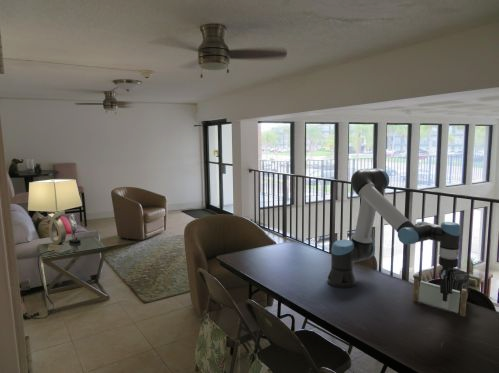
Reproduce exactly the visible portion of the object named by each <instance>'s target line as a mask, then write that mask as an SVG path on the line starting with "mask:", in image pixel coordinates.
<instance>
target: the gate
mask: <svg viewBox="0 0 499 373" xmlns="http://www.w3.org/2000/svg"><path fill="white" fill-rule="evenodd" d="M451 292H453V293H452V294H450V293H449V294H450V302H449V308H448V309H447V308H444V307H442V293H440V284H434V283H431V282H428V281H424V280H421V281H420V280H419V293H418V302H422V303H425V304H428V305H431V306H435V307H437V308H441V309H444V310H447V311H449V312H450V311H451V312H452V313H453V312H454V313H456V314H458V313H460V303H461V302H460V291H457V290H453V289H452V291H451Z"/></svg>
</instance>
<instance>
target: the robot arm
mask: <svg viewBox="0 0 499 373" xmlns="http://www.w3.org/2000/svg"><path fill="white" fill-rule="evenodd" d="M350 185H351V188H352V190H353V192H354V193H355V194H356V195H357V196H358V197H359V198H360V205H359V211H358V216H357V219H356V220H357V221H356V226H355V231H354V233H353V234H351V237H350V239H339V240H335V241H334V242H332V243H331V250H330V251H331V258H330V260H331V262H330V263H331V267H330V271H329V273H328V276H327V283H328V284H329V285H330V286H333V287H337V288H341V289H343V288H345V289H347V288H353V287H354V286H356V282H357V280H356V277H355V273H354V266H353V265H354V263H357V262H360V261H361V262H362V261H367V260H368V259H370V258H372V257H373V256H374V255H375V249H376V246H375V245H374V242H373V238H372V237H371V236H372V230H373V226H374V220H375V217H376V213H378V214H379V215H380V216H381V218H382V219H384V220H385V221H386V222H387V223H388V224H389V225H390V226H391V228H392V229H394V230H395V232H396V233H397V238H398V240H399V242H400V243H402V244H403V245H414V244H417V243H420V242H424V241H434V242H439V250H438V252H439V253H438V254H439V255H438V264H439V265H440V266H442V268H441V271H440V272H441V274H439V275H438V277H439V286H440V293H442V307H444V308H447V309H448V308H449V302H450V294H452V293H453V292H451V291H452V288H453V282H454V275H455V272H456V270H455V269H454V268H456V269H457V268H458V266H459V255H460V254H461V251H460V239H461V225H460V224H459V223H457V222H453V221H443V222H442V223H440V224H435V223H431V222H427V221H417V222H416V223H415V224H414V223H413V222H411V221H410V220H409V218H407V217H406V216H405V215H404V214H403V213H402V212H401V211H400V210H399V209H398V208H397V207H395V205H394V204H393V203H391V202H390V201H389V200H388V199H387V198H386V197H385V196H384V195H383V193H384V190H386V189H387V188H388V187H389V185H390V177H389V174H388V172H386V171H385V169H382V168H375V167H374V168H365V169H364V168H363V169H358V170H357V171H355V172H354V173H353V174H352V176H351V178H350ZM449 293H450V294H449Z"/></svg>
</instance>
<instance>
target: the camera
mask: <svg viewBox="0 0 499 373" xmlns="http://www.w3.org/2000/svg"><path fill="white" fill-rule="evenodd" d="M454 269H455V270H456V272H455V275H454V282H453V288H452V289H453V290H457V291H460V302H459V303H461V292H462V289H466V290H467V299H468V297H469V293H470V292H471V290H470V288H469V283H470V282H469V279H470V274H469V273H468V272H466V271H464V270H461V269H459V268H457V267H456V268H454Z"/></svg>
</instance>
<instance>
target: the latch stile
mask: <svg viewBox="0 0 499 373" xmlns="http://www.w3.org/2000/svg"><path fill="white" fill-rule="evenodd" d="M467 300H468V298H467V290H466V289H462V292H461V302H460V304H459V316H461V317H465V316H466V312H467Z"/></svg>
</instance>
